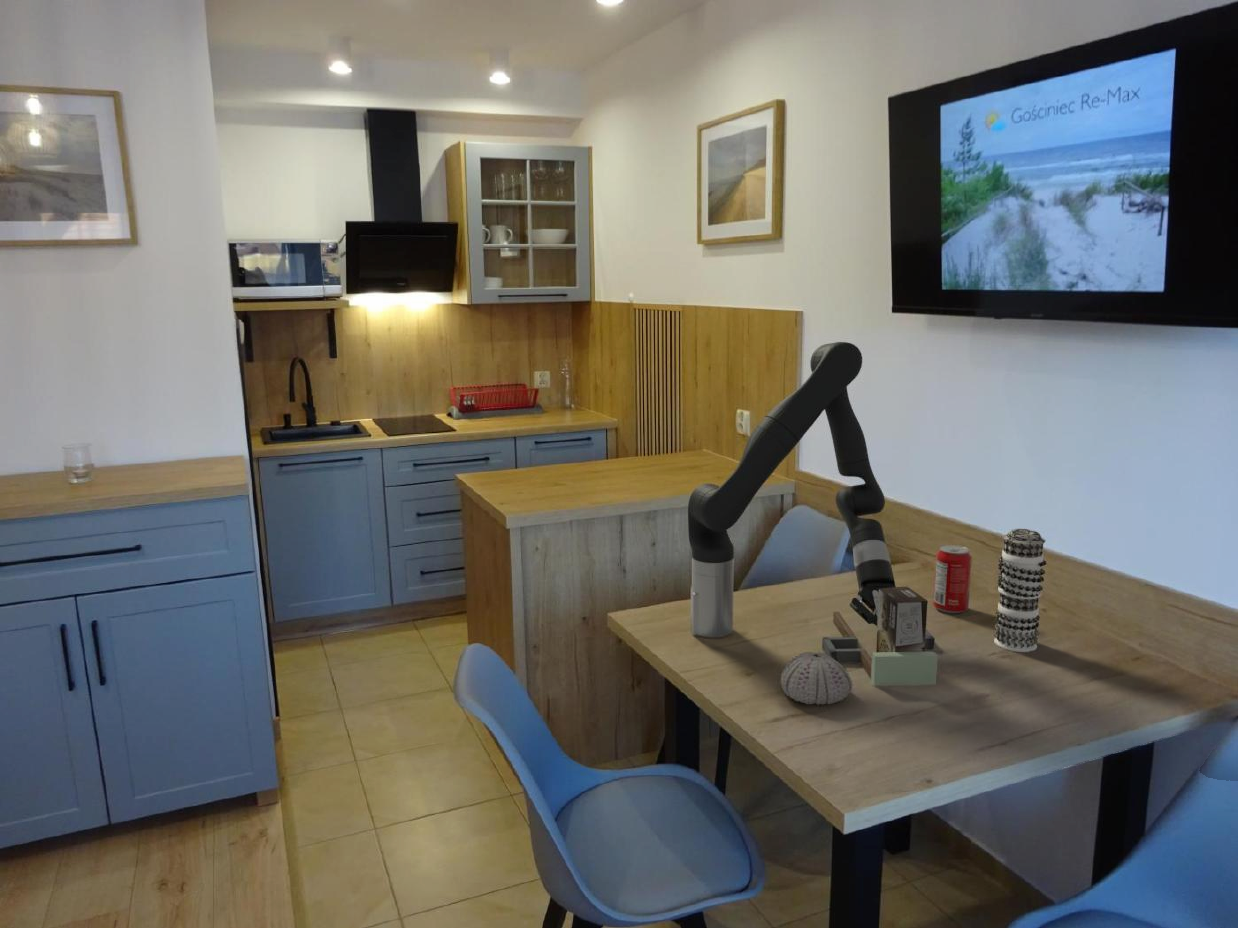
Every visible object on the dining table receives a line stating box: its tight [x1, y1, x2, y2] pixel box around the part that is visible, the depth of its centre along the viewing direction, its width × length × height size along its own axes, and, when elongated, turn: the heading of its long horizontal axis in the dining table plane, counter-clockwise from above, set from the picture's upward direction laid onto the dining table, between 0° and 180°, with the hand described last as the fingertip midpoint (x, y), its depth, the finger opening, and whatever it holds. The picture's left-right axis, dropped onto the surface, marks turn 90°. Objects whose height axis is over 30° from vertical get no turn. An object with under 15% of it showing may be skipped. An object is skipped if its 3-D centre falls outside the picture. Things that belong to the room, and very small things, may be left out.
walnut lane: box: [832, 611, 872, 679], centre depth 187 cm, size 11×32×2 cm, turn 1°
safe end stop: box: [870, 651, 938, 687], centre depth 171 cm, size 12×2×6 cm, turn 90°
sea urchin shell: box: [780, 651, 854, 706], centre depth 167 cm, size 13×14×8 cm
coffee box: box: [875, 586, 928, 652], centre depth 176 cm, size 9×6×16 cm
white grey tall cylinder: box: [993, 528, 1047, 653], centre depth 187 cm, size 9×9×25 cm
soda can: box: [932, 544, 973, 615], centre depth 208 cm, size 8×8×15 cm
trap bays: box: [821, 628, 935, 664], centre depth 187 cm, size 23×13×2 cm, turn 90°
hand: (887, 641), depth 181 cm, fingers closed
